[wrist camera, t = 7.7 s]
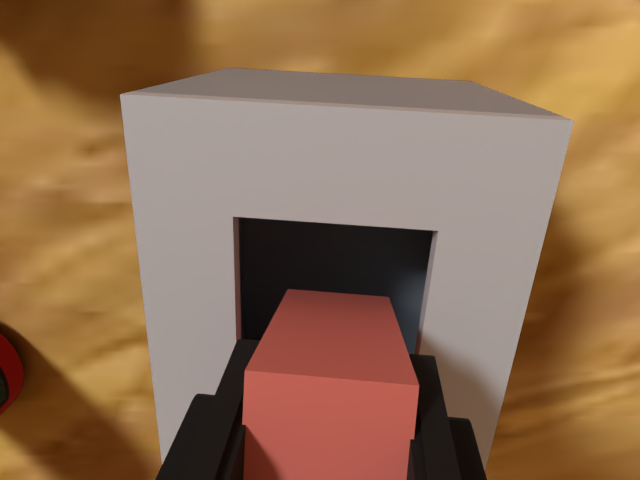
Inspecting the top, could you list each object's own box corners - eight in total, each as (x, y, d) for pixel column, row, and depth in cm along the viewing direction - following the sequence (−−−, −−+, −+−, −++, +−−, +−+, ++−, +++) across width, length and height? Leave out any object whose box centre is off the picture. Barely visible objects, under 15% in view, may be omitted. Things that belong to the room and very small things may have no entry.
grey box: (424, 361, 25) (464, 550, 16) (236, 346, 25) (168, 520, 16) (470, 81, 19) (574, 120, 10) (229, 68, 20) (119, 94, 11)
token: (372, 484, 15) (388, 689, 9) (277, 474, 15) (230, 670, 9) (388, 296, 14) (419, 385, 8) (287, 288, 14) (244, 370, 8)
